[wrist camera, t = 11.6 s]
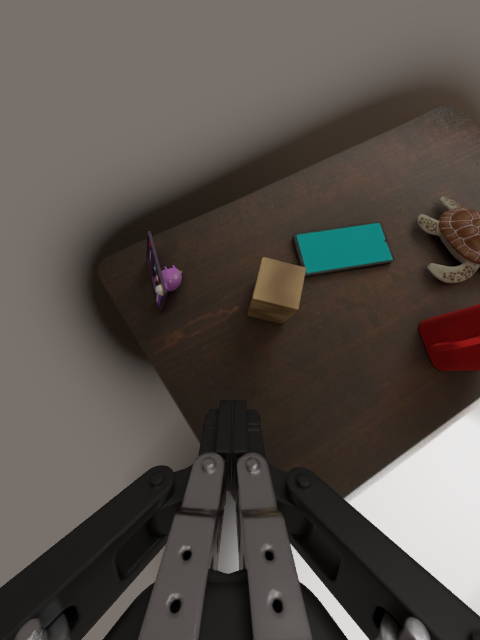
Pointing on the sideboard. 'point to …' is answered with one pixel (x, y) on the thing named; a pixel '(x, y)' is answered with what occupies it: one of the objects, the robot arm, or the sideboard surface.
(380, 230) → the smartphone
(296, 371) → the sideboard surface
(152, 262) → the purple figure in frame
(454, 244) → the decorative turtle
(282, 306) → the beech block
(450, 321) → the mug
